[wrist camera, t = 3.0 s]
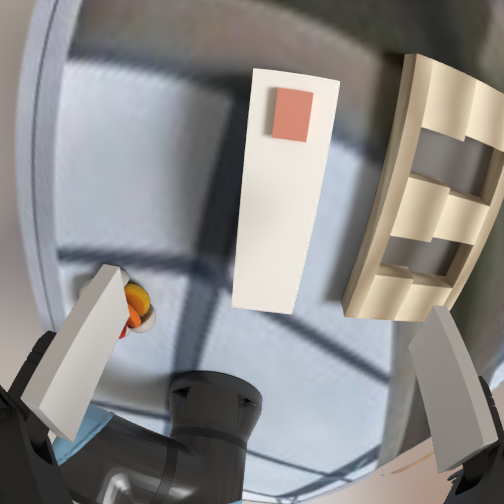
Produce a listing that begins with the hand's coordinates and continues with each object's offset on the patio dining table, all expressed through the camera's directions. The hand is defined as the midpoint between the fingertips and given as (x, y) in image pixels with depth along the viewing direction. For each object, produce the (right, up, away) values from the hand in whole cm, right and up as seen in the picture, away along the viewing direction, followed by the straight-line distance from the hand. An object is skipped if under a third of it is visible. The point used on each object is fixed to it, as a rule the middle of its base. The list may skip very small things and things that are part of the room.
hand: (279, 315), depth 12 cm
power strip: (+1, +9, +14) cm, 17 cm away
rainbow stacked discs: (-17, -3, +24) cm, 29 cm away
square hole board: (+17, +7, +14) cm, 23 cm away
